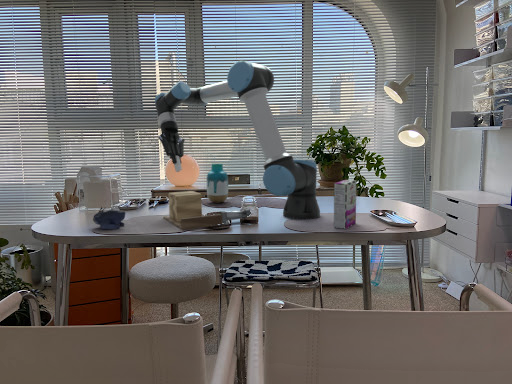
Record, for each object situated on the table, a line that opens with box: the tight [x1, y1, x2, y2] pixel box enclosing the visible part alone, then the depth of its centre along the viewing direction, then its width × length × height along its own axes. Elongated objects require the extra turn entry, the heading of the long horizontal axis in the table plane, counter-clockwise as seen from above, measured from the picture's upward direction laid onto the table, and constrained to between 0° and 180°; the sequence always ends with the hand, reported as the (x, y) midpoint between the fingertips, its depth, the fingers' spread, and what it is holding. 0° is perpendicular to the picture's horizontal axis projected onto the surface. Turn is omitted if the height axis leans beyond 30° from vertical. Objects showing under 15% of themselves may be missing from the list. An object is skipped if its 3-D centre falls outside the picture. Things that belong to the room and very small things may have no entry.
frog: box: [92, 206, 126, 230], centre depth 146 cm, size 10×12×8 cm
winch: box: [219, 208, 252, 224], centre depth 153 cm, size 15×6×5 cm, turn 119°
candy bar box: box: [333, 179, 357, 230], centre depth 146 cm, size 11×5×16 cm, turn 148°
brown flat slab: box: [163, 213, 223, 231], centre depth 153 cm, size 23×15×4 cm, turn 29°
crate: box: [167, 190, 203, 222], centre depth 158 cm, size 10×10×10 cm
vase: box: [206, 163, 229, 204], centre depth 197 cm, size 11×11×19 cm
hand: (178, 170), depth 172 cm, fingers closed
